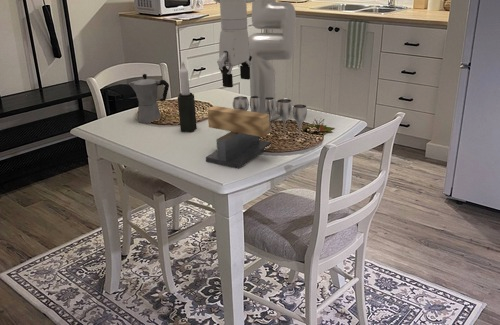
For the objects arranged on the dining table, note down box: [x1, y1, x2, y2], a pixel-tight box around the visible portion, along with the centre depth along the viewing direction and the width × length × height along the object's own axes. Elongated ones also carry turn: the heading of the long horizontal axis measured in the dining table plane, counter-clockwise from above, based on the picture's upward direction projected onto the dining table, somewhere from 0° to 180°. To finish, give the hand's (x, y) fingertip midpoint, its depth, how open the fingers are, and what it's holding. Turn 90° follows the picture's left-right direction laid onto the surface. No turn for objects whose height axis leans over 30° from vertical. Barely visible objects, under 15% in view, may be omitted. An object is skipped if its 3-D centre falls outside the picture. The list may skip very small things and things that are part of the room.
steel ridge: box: [205, 131, 272, 170], centre depth 159 cm, size 20×12×8 cm, turn 149°
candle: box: [177, 61, 198, 133], centre depth 178 cm, size 5×5×25 cm
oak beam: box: [207, 105, 269, 138], centre depth 156 cm, size 20×4×6 cm, turn 59°
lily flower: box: [306, 118, 335, 136], centre depth 177 cm, size 12×12×5 cm
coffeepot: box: [127, 73, 170, 124], centre depth 191 cm, size 15×9×18 cm, turn 87°
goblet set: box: [232, 95, 308, 138], centre depth 173 cm, size 28×6×13 cm, turn 60°
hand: (236, 82), depth 151 cm, fingers open, 9 cm apart
